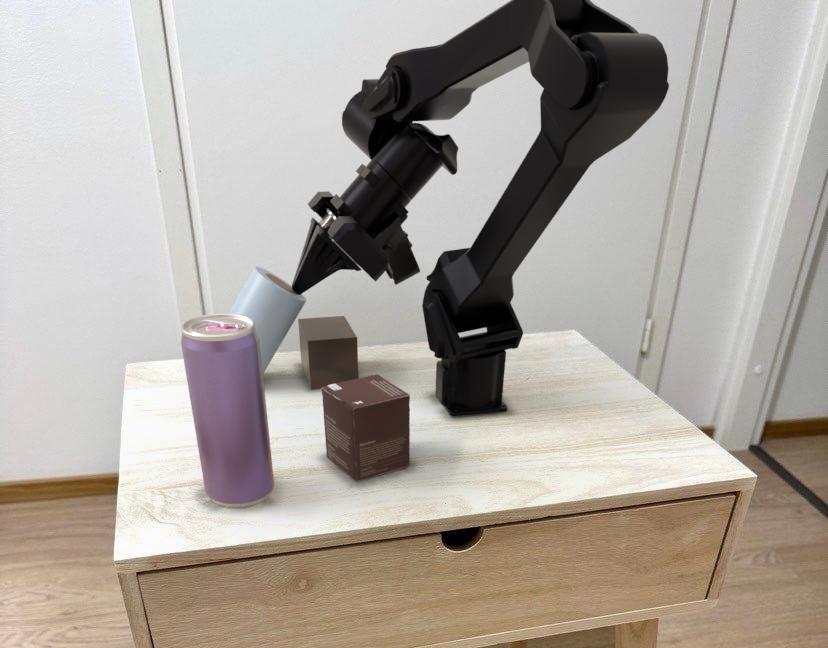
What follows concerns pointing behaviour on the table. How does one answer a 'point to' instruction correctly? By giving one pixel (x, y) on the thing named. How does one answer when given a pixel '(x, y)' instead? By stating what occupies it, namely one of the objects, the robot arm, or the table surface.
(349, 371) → the walnut block
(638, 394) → the table surface
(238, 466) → the beverage can
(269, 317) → the light blue cylinder
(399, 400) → the box
